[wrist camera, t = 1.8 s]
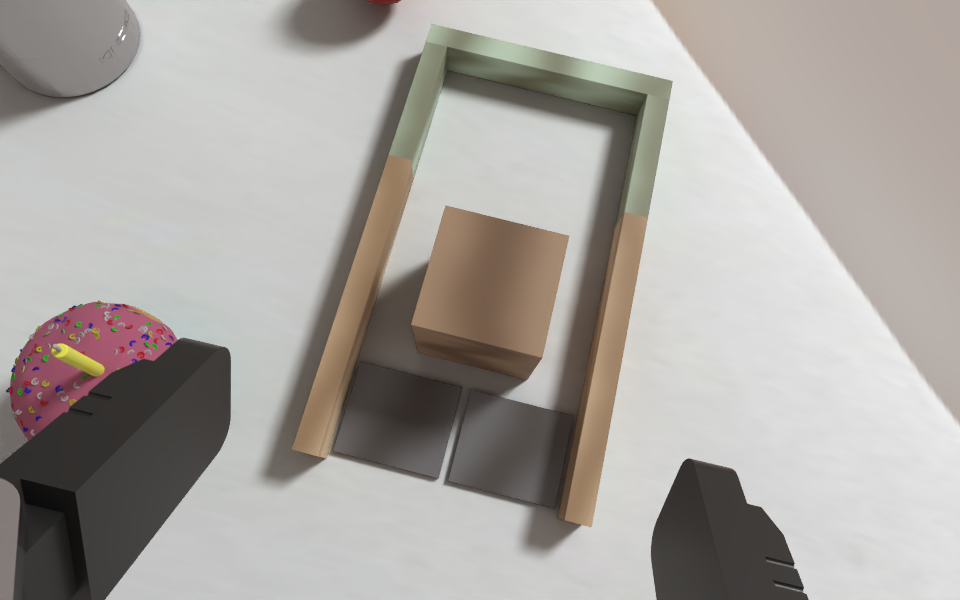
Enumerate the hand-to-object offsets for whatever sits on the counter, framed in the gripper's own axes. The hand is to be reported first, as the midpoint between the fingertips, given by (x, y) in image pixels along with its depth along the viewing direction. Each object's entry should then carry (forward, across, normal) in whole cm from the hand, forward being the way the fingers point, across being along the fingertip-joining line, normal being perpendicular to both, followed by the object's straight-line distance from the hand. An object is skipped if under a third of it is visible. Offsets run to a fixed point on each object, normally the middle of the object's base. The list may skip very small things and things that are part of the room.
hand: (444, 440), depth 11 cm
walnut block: (+27, 0, +12) cm, 29 cm away
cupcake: (+20, +20, +19) cm, 34 cm away
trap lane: (+29, 0, +10) cm, 30 cm away
